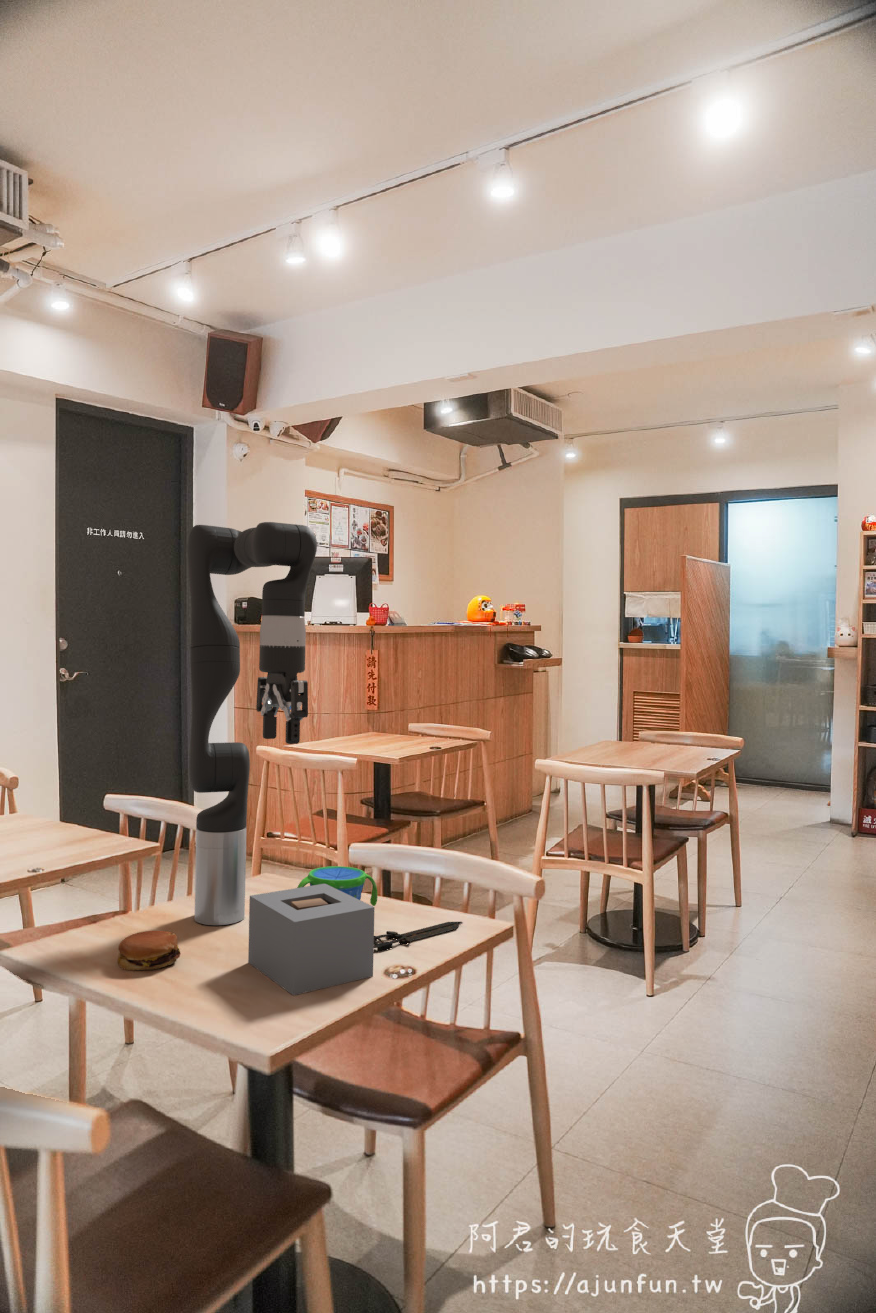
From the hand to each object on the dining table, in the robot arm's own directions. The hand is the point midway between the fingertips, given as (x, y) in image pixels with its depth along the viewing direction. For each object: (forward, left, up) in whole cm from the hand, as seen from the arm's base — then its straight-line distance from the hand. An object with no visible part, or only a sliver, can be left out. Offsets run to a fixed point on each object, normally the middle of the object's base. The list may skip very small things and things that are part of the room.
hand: (280, 741), depth 147 cm
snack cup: (-8, +16, -36) cm, 40 cm away
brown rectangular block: (+9, +1, -35) cm, 36 cm away
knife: (+4, +25, -37) cm, 45 cm away
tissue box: (+8, +2, -36) cm, 37 cm away
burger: (-9, -18, -36) cm, 42 cm away
